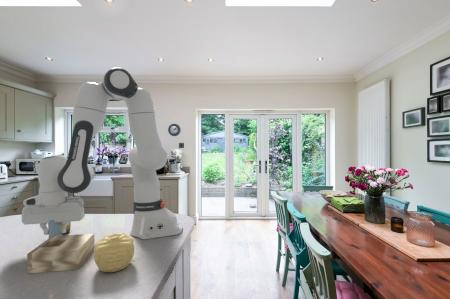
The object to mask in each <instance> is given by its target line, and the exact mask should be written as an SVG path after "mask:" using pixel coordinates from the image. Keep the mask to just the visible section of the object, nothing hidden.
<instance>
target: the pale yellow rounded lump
mask: <svg viewBox="0 0 450 299" xmlns="http://www.w3.org/2000/svg"><path fill="white" fill-rule="evenodd" d="M134 241H135V238H134V237H133V236H131V235H130V236H129V235H127V234H126V233H125V232H121V233H119V232H117V233H112V234H105V235H104V237H102V239H100V240H99V241H97V242H94V251H93V252H94V253H93V260H94V262H95V265H96V266H97V268H98V269H99V270H100V271H101V272H103V273H116V272H118V271H119V272H120V271H122V270H124V269H125V268H127V267H128V266H129V265H130V263H131V262H132V261H133V258H134V255H135V244H134Z"/></svg>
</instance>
